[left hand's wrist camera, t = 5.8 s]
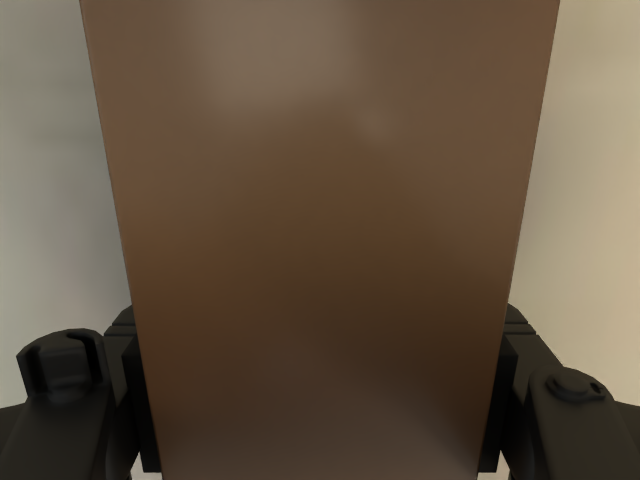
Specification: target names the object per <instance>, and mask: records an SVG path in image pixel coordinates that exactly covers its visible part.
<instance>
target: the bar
mask: <svg viewBox="0 0 640 480" xmlns="http://www.w3.org/2000/svg"><path fill="white" fill-rule="evenodd" d="M79 2H80V8H81V14H82V19H83V25H84V31H85V37H86V42H87V48H88V54H89V60H90V65H91V71H92V77H93V83H94V88H95V94H96V100H97V106H98V111H99V117H100V123H101V129H102V134H103V140H104V146H105V152H106V157H107V163H108V169H109V175H110V180H111V186H112V192H113V198H114V203H115V209H116V215H117V221H118V226H119V232H120V238H121V244H122V249H123V255H124V261H125V267H126V272H127V278H128V284H129V290H130V295H131V301H132V307H133V313H134V318H135V324H136V330H137V336H138V341H139V347H140V353H141V359H142V364H143V370H144V376H145V382H146V387H147V393H148V399H149V405H150V410H151V416H152V422H153V427H154V433H155V439H156V445H157V450H158V456H159V462H160V468H161V473H162V479H163V480H477V477H478V471H479V466H480V460H481V454H482V448H483V443H484V437H485V431H486V425H487V419H488V414H489V408H490V402H491V396H492V391H493V385H494V379H495V373H496V368H497V362H498V356H499V350H500V344H501V339H502V333H503V327H504V321H505V316H506V310H507V304H508V298H509V293H510V287H511V281H512V275H513V269H514V264H515V258H516V252H517V246H518V241H519V235H520V229H521V223H522V218H523V212H524V206H525V200H526V195H527V189H528V183H529V177H530V171H531V166H532V160H533V154H534V148H535V143H536V137H537V131H538V125H539V120H540V114H541V108H542V102H543V96H544V91H545V85H546V79H547V73H548V68H549V62H550V56H551V50H552V45H553V39H554V33H555V27H556V21H557V16H558V10H559V4H560V0H79Z"/></svg>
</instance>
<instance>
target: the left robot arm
mask: <svg viewBox="0 0 640 480" xmlns="http://www.w3.org/2000/svg"><path fill="white" fill-rule="evenodd" d="M16 358H17V362H18V365H19V368H20V372H21V375H22V378H23V382H24V385H25V389H26V392H27V395H28V397H27V399H26V402H25V403H22V404H19V405H15V406H10V407H5V408H0V480H132V477H131V472H130V471H131V468H132V466H133V464H134V462H135V460H136V458H137V455H138V453H139V452H140V457H141V462H142V467H143V472H144V473H161V468H160V462H159V456H158V450H157V445H156V439H155V433H154V427H153V422H152V416H151V410H150V405H149V399H148V393H147V387H146V382H145V376H144V370H143V364H142V359H141V353H140V347H139V341H138V336H137V330H136V324H135V318H134V313H133V307H132V305H131V306H129V307H127V308H126V309H124V310H123V311H122V312H121V313H120V314H119V315H118V317H117V318H116V319H115V320H114V322H113V323H112V326H110V327H109V328H108V329H107V330H106V332H105V333H104V336H102V335H100V334H99V333H98V332H96V331H94V330H90V329H85V328H79V329H67V330H62V331H58V332H53V333H51V334H48V335H45V336H43V337H40V338H38V339H36V340H35V341H33V342H31V343H30V344H28V345H27V346H25V347H24V348H23V349H22V350H21V351H20V352H19V353H18V354H17V356H16ZM500 450H501V452H502V454H503V456H504V458H505V460H506V462H507V464H508V467H509V469H510V472H509V477H508V480H640V406H635V405H630V404H625V403H621V402H618V401H614V399H613V396H612V395H611V394H610V392H609V391H608V390H607V388H606V387H605V386H604V385H603V384H601V383H600V382H599V381H597V380H596V379H594V378H593V377H591V376H589V375H587V374H585V373H583V372H580V371H578V370H575V369H571V368H567V367H563V365H562V364H561V363H560V362H559V360H558V359H557V358H556V356H555V355H554V354H553V353H552V351H551V350H550V349H549V348H548V346H547V345H546V344H545V343H544V341H543V340H542V339H541V338H540V336H539V335H536V331H535V330H534V329H533V328H532V326H531V325H530V324H528V321H527V320H526V319H525V318H524V316H523V315H522V314H521V313H520V311H519V310H518V309H517V308H515V307H513V306H512V305H510V304H509V303H508V304H507V310H506V316H505V321H504V327H503V333H502V339H501V344H500V350H499V356H498V362H497V368H496V373H495V379H494V385H493V391H492V396H491V402H490V408H489V414H488V419H487V425H486V431H485V437H484V443H483V448H482V454H481V460H480V466H479V471H478V473H496V471H497V465H498V460H499V455H500Z"/></svg>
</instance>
